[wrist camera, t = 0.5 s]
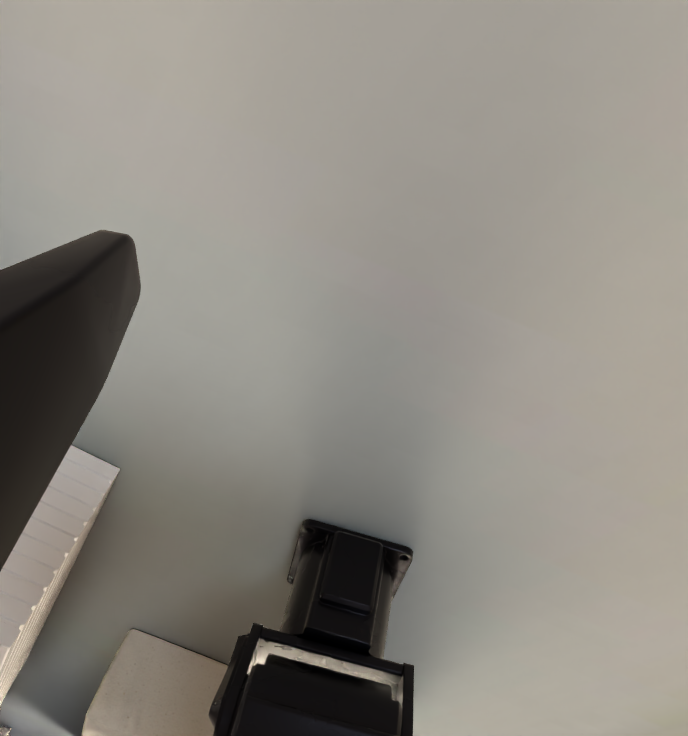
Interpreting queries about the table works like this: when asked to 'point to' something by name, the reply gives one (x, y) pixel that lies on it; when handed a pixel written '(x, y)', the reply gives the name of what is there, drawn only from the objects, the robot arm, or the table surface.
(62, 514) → the white ridged block
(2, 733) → the caliper
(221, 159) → the table surface
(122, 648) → the box
